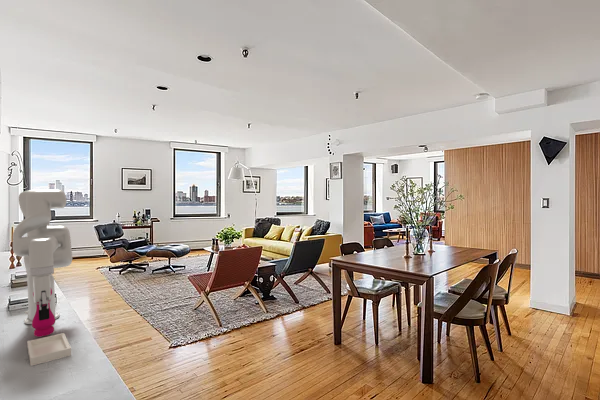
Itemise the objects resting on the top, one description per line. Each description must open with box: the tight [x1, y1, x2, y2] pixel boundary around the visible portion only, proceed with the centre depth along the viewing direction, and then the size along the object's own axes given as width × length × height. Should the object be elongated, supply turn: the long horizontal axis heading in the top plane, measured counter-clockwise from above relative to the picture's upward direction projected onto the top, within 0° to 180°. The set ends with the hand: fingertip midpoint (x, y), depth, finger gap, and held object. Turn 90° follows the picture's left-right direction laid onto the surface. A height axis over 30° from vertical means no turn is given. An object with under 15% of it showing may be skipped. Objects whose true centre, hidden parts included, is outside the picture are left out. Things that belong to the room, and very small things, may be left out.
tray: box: [26, 332, 72, 367], centre depth 123 cm, size 18×11×2 cm, turn 40°
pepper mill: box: [31, 289, 56, 338], centre depth 136 cm, size 7×7×20 cm
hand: (43, 316), depth 136 cm, fingers closed on pepper mill, 5 cm apart
